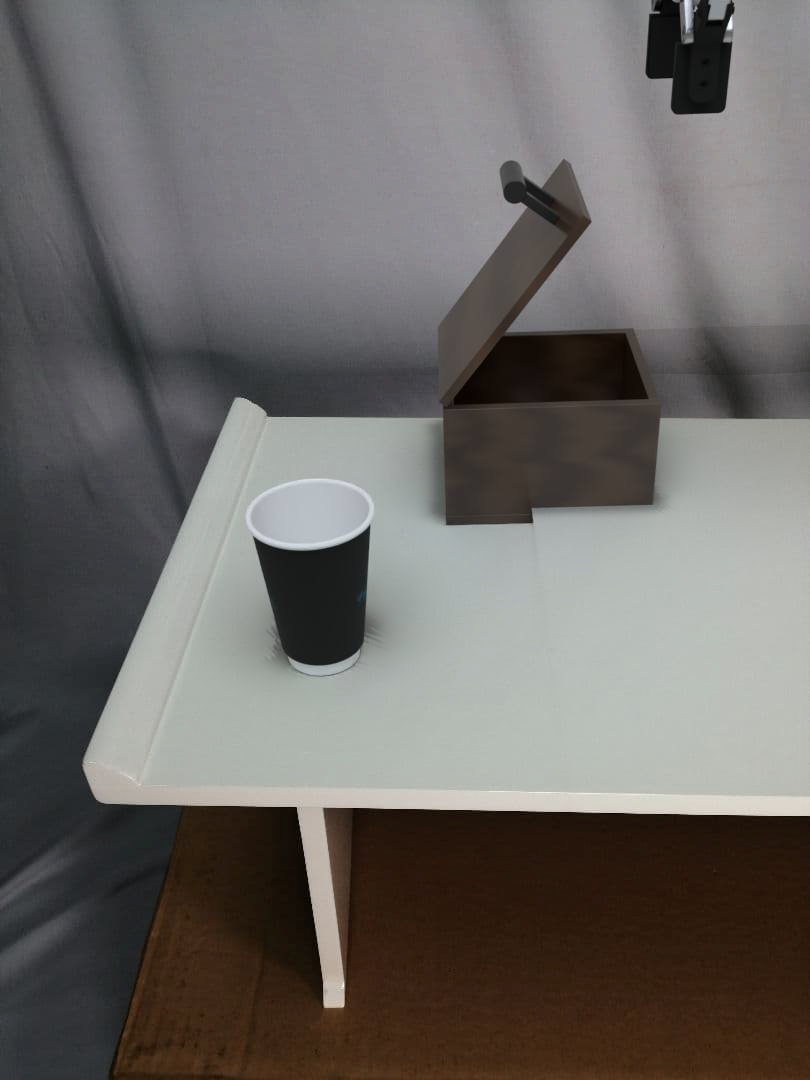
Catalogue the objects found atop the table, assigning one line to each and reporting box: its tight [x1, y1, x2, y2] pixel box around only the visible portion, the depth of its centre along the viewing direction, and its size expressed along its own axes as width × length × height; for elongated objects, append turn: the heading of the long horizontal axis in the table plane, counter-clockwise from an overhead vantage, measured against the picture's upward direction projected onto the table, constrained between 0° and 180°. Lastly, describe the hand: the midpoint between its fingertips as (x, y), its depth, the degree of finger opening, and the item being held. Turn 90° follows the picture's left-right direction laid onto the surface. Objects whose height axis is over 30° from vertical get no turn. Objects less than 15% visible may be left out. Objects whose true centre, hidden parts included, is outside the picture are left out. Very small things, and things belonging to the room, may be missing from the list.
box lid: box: [437, 158, 593, 407], centre depth 85 cm, size 16×14×5 cm
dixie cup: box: [244, 477, 376, 677], centre depth 74 cm, size 8×8×11 cm
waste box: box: [442, 327, 662, 526], centre depth 92 cm, size 16×14×10 cm
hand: (682, 94), depth 75 cm, fingers open, 9 cm apart
